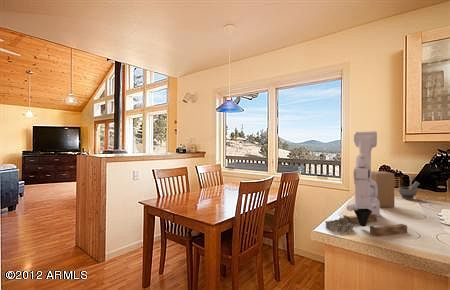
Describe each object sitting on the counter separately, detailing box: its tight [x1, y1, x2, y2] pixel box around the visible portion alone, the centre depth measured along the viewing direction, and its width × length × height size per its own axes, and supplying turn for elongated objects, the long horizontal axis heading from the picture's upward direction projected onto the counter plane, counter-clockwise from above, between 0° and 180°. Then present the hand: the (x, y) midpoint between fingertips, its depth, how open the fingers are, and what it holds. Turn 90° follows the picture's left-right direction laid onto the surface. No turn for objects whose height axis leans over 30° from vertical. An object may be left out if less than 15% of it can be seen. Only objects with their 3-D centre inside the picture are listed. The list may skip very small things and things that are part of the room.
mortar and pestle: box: [397, 181, 421, 201], centre depth 152 cm, size 11×9×12 cm
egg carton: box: [324, 217, 355, 232], centre depth 101 cm, size 11×8×4 cm
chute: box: [342, 214, 408, 237], centre depth 102 cm, size 17×17×4 cm
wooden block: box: [371, 170, 395, 208], centre depth 137 cm, size 10×10×20 cm
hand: (362, 225), depth 100 cm, fingers closed
